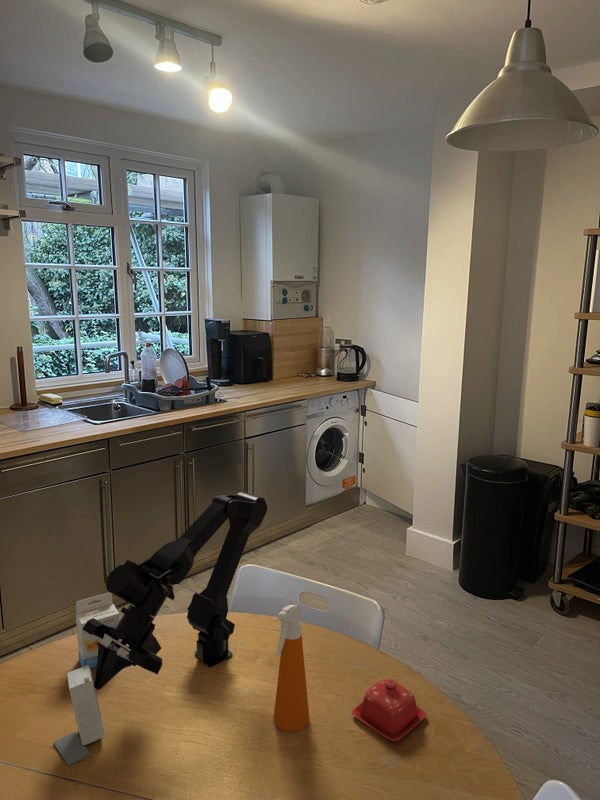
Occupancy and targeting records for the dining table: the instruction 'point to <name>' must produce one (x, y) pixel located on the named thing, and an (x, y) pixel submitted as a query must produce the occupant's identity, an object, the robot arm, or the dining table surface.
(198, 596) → the robot arm
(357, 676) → the dining table surface
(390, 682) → the butter dish
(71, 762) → the flat gray block
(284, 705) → the spray bottle
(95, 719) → the skincare box
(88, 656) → the ink box
